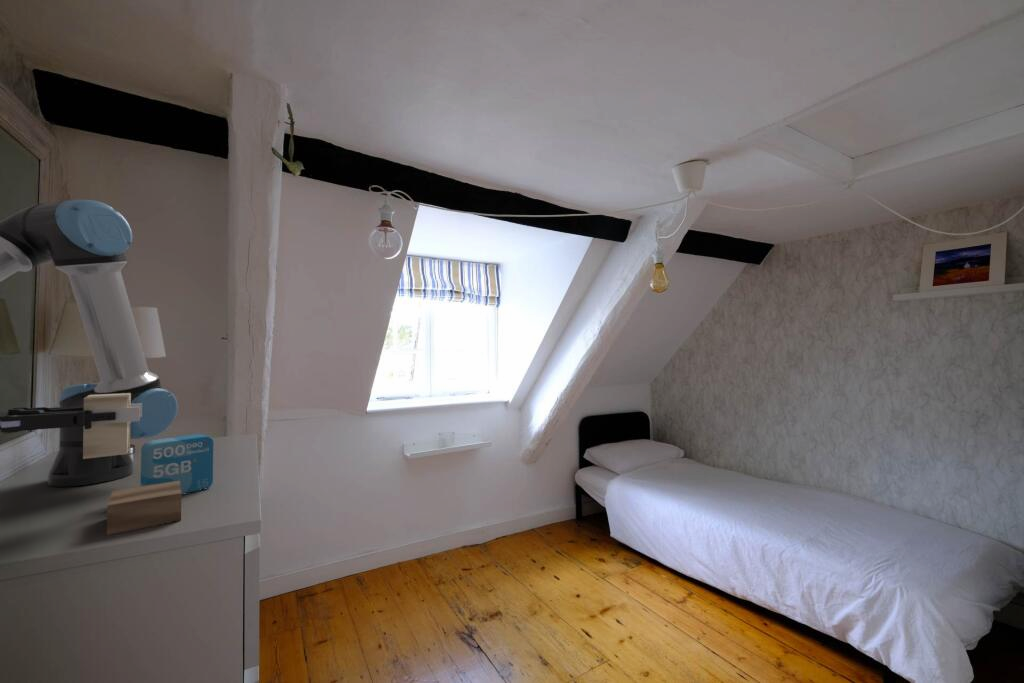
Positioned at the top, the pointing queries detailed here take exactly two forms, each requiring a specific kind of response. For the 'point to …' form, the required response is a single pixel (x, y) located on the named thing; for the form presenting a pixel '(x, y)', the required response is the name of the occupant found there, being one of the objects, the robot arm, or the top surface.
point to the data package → (178, 462)
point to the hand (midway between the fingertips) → (140, 411)
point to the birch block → (106, 428)
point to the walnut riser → (144, 507)
